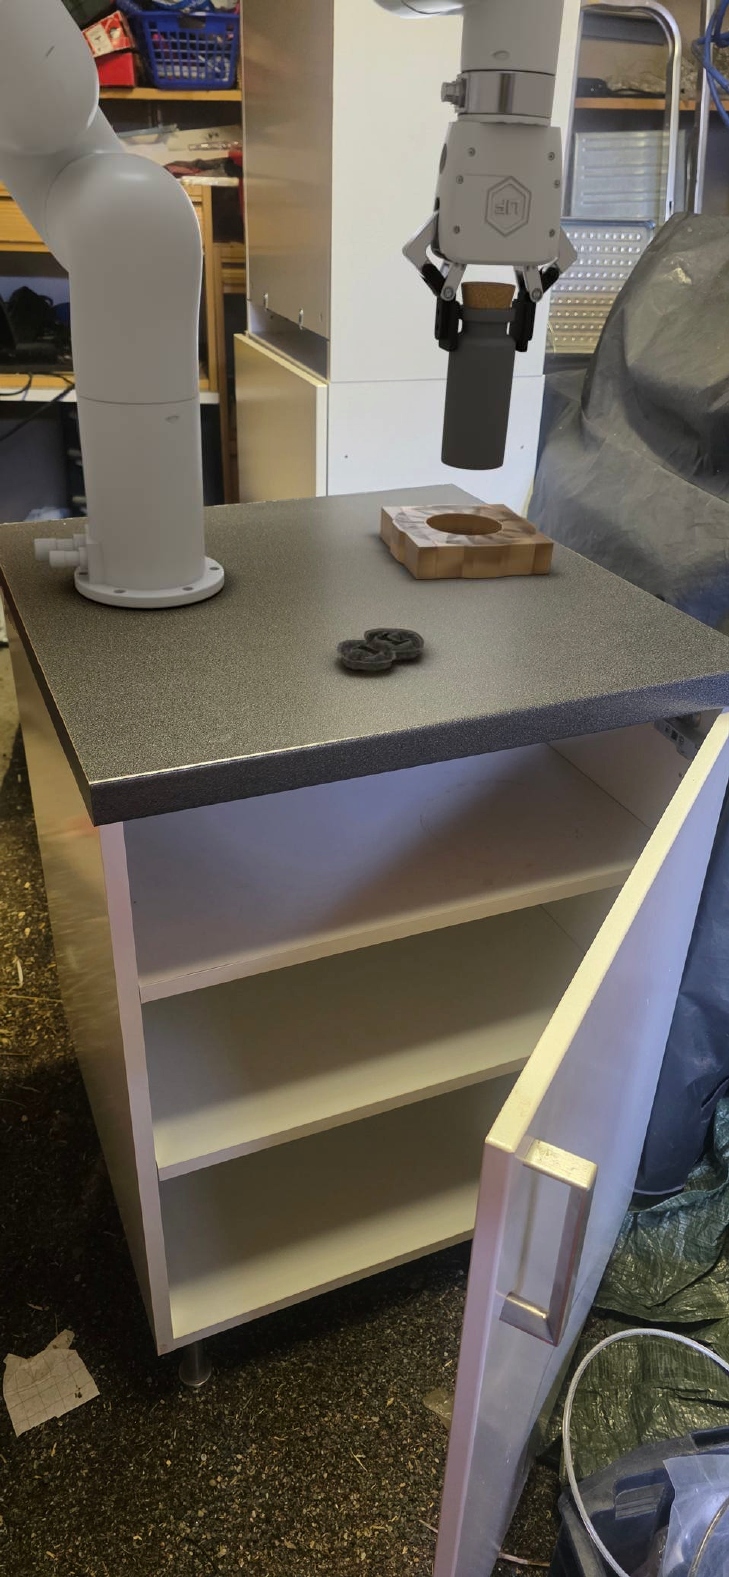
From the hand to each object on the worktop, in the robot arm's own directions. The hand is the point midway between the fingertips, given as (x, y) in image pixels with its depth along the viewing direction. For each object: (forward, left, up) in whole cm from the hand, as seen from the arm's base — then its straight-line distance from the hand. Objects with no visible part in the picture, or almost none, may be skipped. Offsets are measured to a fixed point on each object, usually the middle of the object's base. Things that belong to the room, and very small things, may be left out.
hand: (482, 347), depth 90 cm
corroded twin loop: (-14, -23, -19) cm, 33 cm away
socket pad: (0, 0, -19) cm, 19 cm away
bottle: (0, 0, -10) cm, 10 cm away
